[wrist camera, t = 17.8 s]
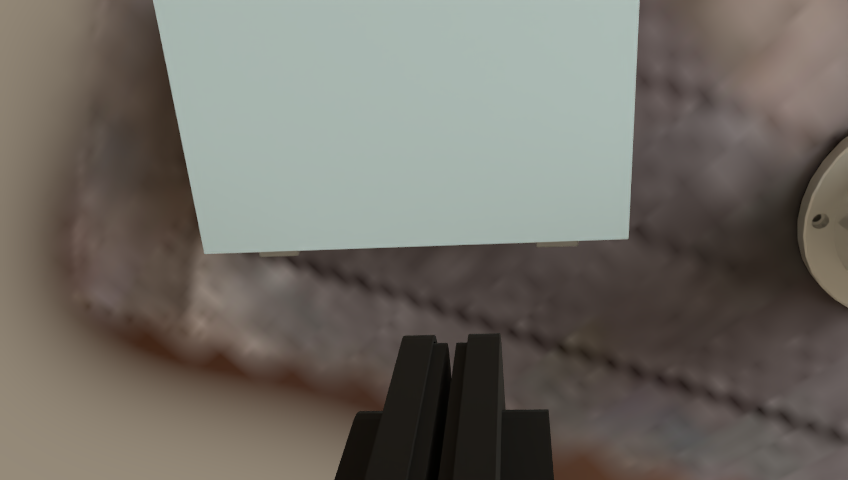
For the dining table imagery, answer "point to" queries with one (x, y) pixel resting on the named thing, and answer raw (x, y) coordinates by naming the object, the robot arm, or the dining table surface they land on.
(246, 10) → the lid
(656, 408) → the dining table surface
